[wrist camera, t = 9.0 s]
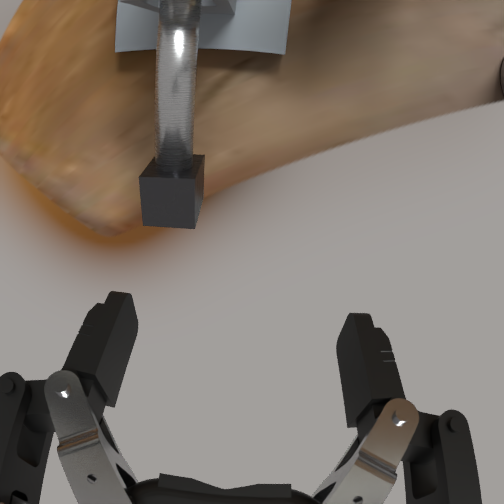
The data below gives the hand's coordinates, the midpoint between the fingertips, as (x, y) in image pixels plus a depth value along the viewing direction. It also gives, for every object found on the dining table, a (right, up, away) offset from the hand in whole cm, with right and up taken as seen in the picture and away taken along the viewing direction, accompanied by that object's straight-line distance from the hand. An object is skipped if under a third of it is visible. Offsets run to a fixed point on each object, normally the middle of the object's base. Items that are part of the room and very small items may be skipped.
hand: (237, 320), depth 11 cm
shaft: (-5, +14, +11) cm, 18 cm away
